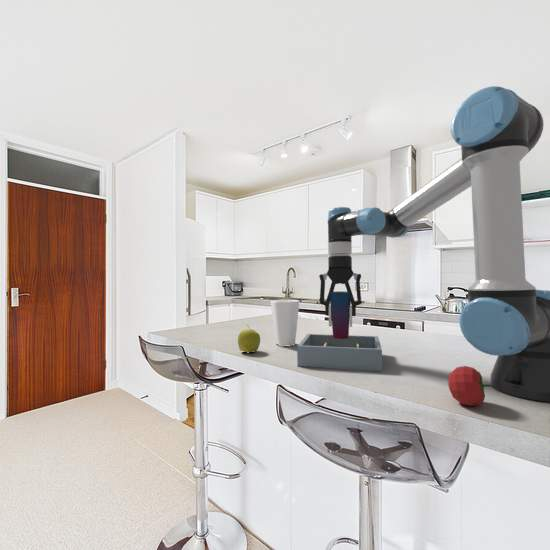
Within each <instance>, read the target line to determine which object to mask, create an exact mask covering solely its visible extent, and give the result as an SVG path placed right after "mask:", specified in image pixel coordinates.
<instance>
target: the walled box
mask: <svg viewBox="0 0 550 550" xmlns="http://www.w3.org/2000/svg"><path fill="white" fill-rule="evenodd" d="M296 346H297V347H296V350H297V351H296V352H297V353H296V354H297V355H296V356H297V357H296V358H297V366H298V365H299V366H298V367H301V366H312V367H311V368H318V367H322V368H323V369H335V370H337V369H339V370H357V371H373V372H375V371H376V372H383V348H382V345H381V342H380V338H379V335H350V334H349V338H347V339H336V338H333V334H323V333H322V334H321V333H318V334H317V333H307V334H306V335H305V336H304V337H303V338H302V340H301V341H300V342H299V344H298V345H296ZM322 368H321V369H322Z"/></svg>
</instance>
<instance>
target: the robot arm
mask: <svg viewBox="0 0 550 550" xmlns="http://www.w3.org/2000/svg"><path fill="white" fill-rule="evenodd" d="M542 115H543V114H542V113H541V111H540V109H538V108H537V107H536V106H534V105H533V104H531V103H529V102H527V101H526V100H525V99H523V98H522V97H520V96H519V95H518V94H517V93H516V92H515V91H513V90H511V89H509V88H505V87H501V86H495V85H494V86H489V87H484V88H481V89H480V90H477V91H475V92H473V93H472V94H471V95H469V97H467V98H466V99H465V100H463V102H462V103H461V105H460V106H459V108H457V109H456V111H455V113H454V115H453V117H452V120H451V124H450V134H451V137H452V139H453V140H454V142H455V143H456V144H457V145H459V146H460V148H461V158H460V159H458V160H457V161H455V163H452V165H450V166H448V168H446V169H445V170H443V171H442V172H441V173H439V174H438V175H437V176H435V177H434V178H433V179H431V180H430V181H429V182H427V183H426V184H424V185H423V186H422V187H421V188H419V189H418V190H416V191H415V192H414V193H412V194H411V195H410V196H408V197H407V198H406V199H404V200H403V201H402V202H400V203H399V204H397V205H396V206H395V207H394V208H392V209H390V210H389V211H387V212H385V211H383V210H381V209H380V208H379V207H377V206H376V207H366V208H363V209H358V210H355V211H352V209H351V208H350V207H346V206H345V207H344V206H338V207H333V208H330V209H329V210H328V213H327V214H328V215H327V234H328V235H327V236H328V237H327V239H328V241H327V246H328V247H327V253H328V255H329V257H328V258H327V259H328V263H327V264H328V270H327V272H325V273H323V274H321V273H320V274H319V275H318V277H319V280H320V289H319V290H320V291H319V292H320V294H319V304H320V305H323V306H324V309H325V312H324V313H325V316H327V317H328V327H332V315H331V301H330V300H331V294H330V292H335V291H334V290H335V287H336V285H338V284H341V285H344V286H345V289H346V292H350V319H349V328H353V317H356V314H357V312H356V311H357V308H356V307H357V306H360V305H361V304H362V294H361V282H360V281H361V278H362V275H361V274H360V273H356V272H354V271H353V269H352V268H353V266H352V265H353V263H352V262H353V261H352V260H353V258H352V256H351V255H352V253H353V252H352V248H353V247H352V246H353V245H352V237H354V236H356V237H357V236H377V237H387V238H401V237H404V236H405V235H406V234H407V233H408V231H409V230H410V226H412V225H413V224H415V223H416V222H418V221H420V220H421V219H423V218H425V217H426V216H428V215H429V214H430V213H432V212H433V211H435V210H437V209H438V208H440V207H441V206H443V205H445V204H446V203H447V202H449V201H450V200H452V199H454V198H455V197H457V196H459V195H460V194H461V193H463V192H465V191H467V189H469V188H471V205H472V208H471V209H472V227H473V228H472V229H473V248H474V249H473V251H474V269H475V280H474V282H473V283H472V284H471V285H470V286H469V287H468V288H467V296H468V297H467V299H468V303H467V304H466V305H465V306H464V308H462V310H461V312H460V315H459V321H458V322H459V327H460V331H461V333H462V336H463V337H464V339H465V340H466V341H467V342H468V343H469V344H470V345H471V346H472V347H473V348H474V349H476V350H478V351H479V352H481V353H483V354H486V355H489V356H497V358H496V360H495V363H494V365H493V368H492V371H491V373H490V385H491V387H493V388H494V389H495V390H498V391H500V392H502V393H504V394H506V395H509V396H510V395H511V396H513V397H517V398H521V399H526V400H532V401H537V402H538V401H539V402H548V403H549V402H550V290H546V289H545V290H543V289H537V288H536V286H534V284H532V283H530V282H529V281H528V280H527V279H526V264H525V263H526V261H525V260H526V258H525V244H524V242H525V241H524V228H523V227H524V225H523V224H524V222H523V221H524V220H523V219H524V218H523V205H522V202H523V201H522V184H521V183H522V182H521V179H522V178H521V161H522V160H523V159H524V158H525V157H526V156H527V155H528V154H529V153H531V150H533V148H535V146H536V145H537V144H538V142H539V140H540V138H541V136H542V134H543V132H544V118H543V116H542ZM352 277H353V279H354V281H355V289H356V290H355V291H356V300H355V298H354V295H353V290H352V289H351V285H350V282H349V281H350V280H351V278H352ZM327 278H329V280H330V281H331V284H330V287H329V289H328V294H327V297H326V299H325V294H326V293H325V292H326V291H325V290H326V288H325V287H326V280H327Z"/></svg>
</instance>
